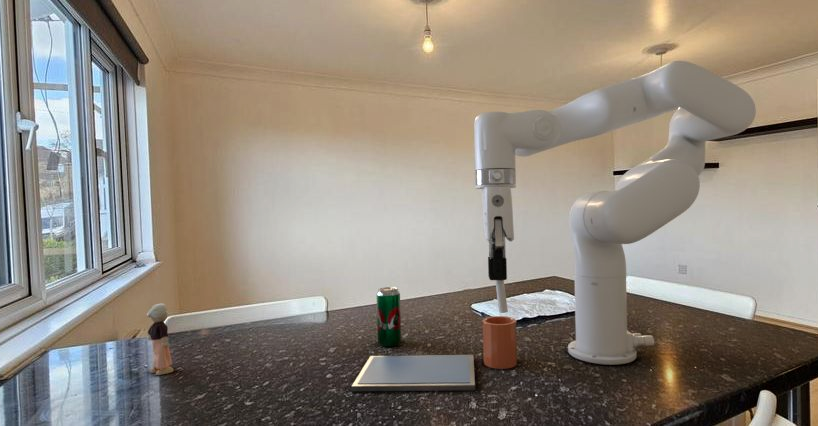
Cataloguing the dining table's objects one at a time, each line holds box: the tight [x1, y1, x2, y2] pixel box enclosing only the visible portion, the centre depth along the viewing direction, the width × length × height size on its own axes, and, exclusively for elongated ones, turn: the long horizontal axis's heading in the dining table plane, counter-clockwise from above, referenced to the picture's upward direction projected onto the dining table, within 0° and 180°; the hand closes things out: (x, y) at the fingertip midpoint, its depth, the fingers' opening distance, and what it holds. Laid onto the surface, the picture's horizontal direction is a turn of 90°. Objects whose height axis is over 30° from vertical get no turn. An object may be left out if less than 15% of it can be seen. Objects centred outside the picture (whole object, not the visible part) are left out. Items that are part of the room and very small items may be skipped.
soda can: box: [376, 286, 402, 348], centre depth 93 cm, size 5×5×12 cm
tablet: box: [351, 354, 476, 393], centre depth 76 cm, size 20×14×1 cm
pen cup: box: [482, 315, 518, 370], centre depth 80 cm, size 6×6×8 cm
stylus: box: [494, 280, 509, 314], centre depth 80 cm, size 2×2×12 cm
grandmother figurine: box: [145, 303, 175, 376], centre depth 81 cm, size 8×4×13 cm, turn 65°
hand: (497, 278), depth 80 cm, fingers closed on stylus, 1 cm apart
